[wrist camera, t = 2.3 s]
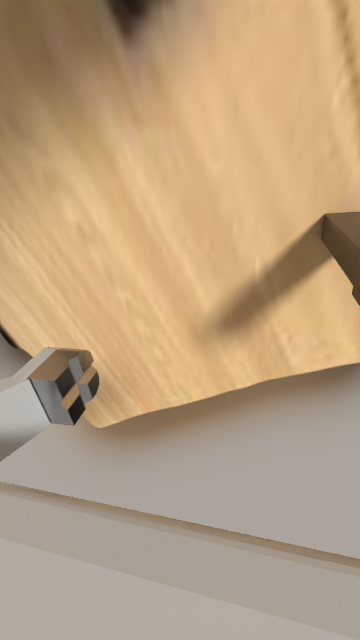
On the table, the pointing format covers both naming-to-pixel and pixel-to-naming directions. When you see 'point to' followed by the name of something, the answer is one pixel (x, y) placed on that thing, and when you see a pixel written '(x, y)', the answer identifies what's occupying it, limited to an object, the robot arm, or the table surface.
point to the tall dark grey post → (345, 244)
